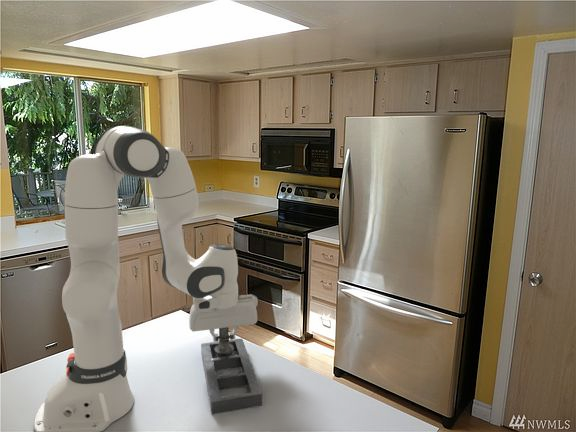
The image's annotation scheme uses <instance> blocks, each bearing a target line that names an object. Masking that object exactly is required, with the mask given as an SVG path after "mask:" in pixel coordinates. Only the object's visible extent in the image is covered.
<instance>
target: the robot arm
mask: <svg viewBox="0 0 576 432" xmlns="http://www.w3.org/2000/svg"><path fill="white" fill-rule="evenodd" d="M125 175H126V176H129V177H131V178H139V179H140V178H141V179H144V178H146V180H147V182H148V184H149V188H150V191H151V196H152V199H153V203H154V207H155V210H156V221H157V222H156V223H157V228H158V233H159V234H158V235H159V239H160V240H159V241H160V245H161V250H162V256H163V257H162V259H163V260H162V265H161V274H162V278H163V281H164V283H166V285H169V286H170V287H172V288H175V289H177V290H179V291H181V292H182V293H185V294H187V295H189V296H190V297H192V305H191V307H190V310H189V318H188V319H189V320H188V323H189V325H188V326H189V329H190V331H192V332H200V331H209V333H210V335H211V336H212V340H213V341H212V342H219V339H218V338H219V333H215V330H219V328H227V327H228V328H233V329H232V331H229V336H230V338H229V340H234V339H236V334H237V332H238V331H239V329H240V327H242V326H243V327H244V326H249V325H256V323H257V322H258V312H257V307H258V303H259V302H258V301H259V300H258V297H257V296H256V295H254V294H240V295H239V285H238V275H239V264H238V261H239V260H238V255H237V251H236V249H235V248H233V247H232V246H230V245H227V244H222V243H214V244H211V245H210V246H208V249H207V251H206V252H205V253H203V254H202V256H201V257H199V258H198V259H197V258H194V257H192V256H191V255H190V254H189V253H188V251H187V249H186V246H185V241H184V232H183V224H184V223H187V222H189V221H190V220H191V219H193V218H194V216H196V214H197V212H198V210H199V205H200V204H199V194H198V189H197V186H196V181H195V177H194V175H193V171H192V170H191V166H190V164H189V162H188V159H187V157H186V155H185V154H184V152H183V151H182V150H180V149H179V148H176V147H173V146H167V147H166V146H164V145H163V144H162V143H161V142H160V141H159V139H158V138H156V136H154V135H153V134H152V133H150V132H149V131H147V130H145V129H139V128H137V127H135V126H131V125H130V126H129V125H114V126H111V127H108V128H107V129H105V130H104V131H103V132H102V133H101V135H100V136H99V137H98V139H97V140H96V143H95V144H94V146H93V148H92V149H91V151H90V154H83V155H79V156H77V157H75V158H73V159H72V160H70V162H69V163H68V167H67V171H66V176H65V185H64V221H65V223H64V224H65V227H64V229H65V240H66V242H67V245H68V246H67V247H68V251H69V257H70V272H69V274H68V275H69V276H68V278H67V280H66V281H65V283H64V285H63V287H62V291H61V292H62V293H61V302H62V303H61V304H62V309H63V311H64V313H65V314H66V318H67V322H68V325H69V328H70V332H71V337H72V345H73V352H72V353H70V354H69V355H68V357H67V359H66V360H67V364H66V371H65V373H66V374H64V376H62V377H60V378H59V379H58V380H56V381H55V382H54V383H53V384H52V385H51V387H50V388H49V390H48V392H47V394H46V397H45V400H44V401H43V402H42V404H41V405H40V406H39V408H38V410H37V412H36V414H35V417H34V422H33V430H34V432H103V431H105V430H106V429H107V428H108V427H109V426H110V425H111V424H112V423H113V422H115V421H117V420H119V419H121V418H122V417H123V416H125V415H126V414H128V412H129V411H131V409H132V407H133V406H134V403H135V397H134V395H133V392H132V390H131V388H130V384H129V380H128V376H127V372H128V359H127V355H126V350H125V349H124V340H123V326H122V321H121V316H120V312H119V306H118V305H119V304H118V288H119V282H120V277H121V264H120V246H119V245H120V243H119V195H118V189H119V187H120V184H121V183H120V182H121V181H122V179H123V178H124V177H125Z"/></svg>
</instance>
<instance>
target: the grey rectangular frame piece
mask: <svg viewBox="0 0 576 432" xmlns="http://www.w3.org/2000/svg"><path fill="white" fill-rule="evenodd" d="M229 344H231V345H232V346H233V347H234V350H233V352H235V355H232V356H226V357H219V358H216V357H214V358H213V355H217V354H216V352H215V350H214V349H215V347H216V346H217V345H219V341H216V342H214V341H211V342H203V343H201V344H200V348H201V349H200V351H201V352H200V354H201V361H202V365H203V371H204V377H205V384H206V389H207V396H208V402H209V407H210V414H211V415H215V414H222V413H227V412H233V411H238V410H239V411H240V410H244V409H249V408H256V407H261V406H263V392H262V389H261V387H260V383H259V381H258V379H257V375H256V372H255V370H254V367H253V364H252V361H251V359H250V356H249V353H248V351H247V348H246V345H245V343H244V339H243V338H237V339H236V338H235V339H231V340H230V339H229ZM239 368H240V371H241V372H237V373H231V374H224V375H218V376H217V374H216V372H217V371H225V370H231V369H239ZM240 387H246V390H247V392H246V393H240V394H234V395H228V396H223V397H221V393H220V391H221V390H222V391H223V390H228V389H234V388H240Z"/></svg>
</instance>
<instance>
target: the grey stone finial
mask: <svg viewBox="0 0 576 432" xmlns="http://www.w3.org/2000/svg"><path fill="white" fill-rule="evenodd" d="M229 328H230V327H227V328H219V329H218V336H219V338H218V339H219V341H218V342H219V345H217V346H216V347H215V349H214V350H215V352H216V354H215V355H216V357H215V358H219V357H226V356H233V353H234V351H233V350H234V347H233V346H232V345H231V344H229V340H230V334H229V332H230V331H229V330H230V329H229Z"/></svg>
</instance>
